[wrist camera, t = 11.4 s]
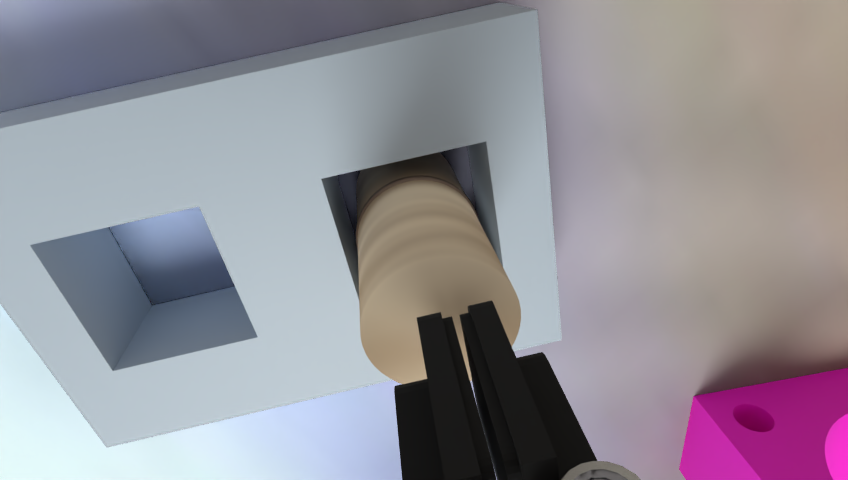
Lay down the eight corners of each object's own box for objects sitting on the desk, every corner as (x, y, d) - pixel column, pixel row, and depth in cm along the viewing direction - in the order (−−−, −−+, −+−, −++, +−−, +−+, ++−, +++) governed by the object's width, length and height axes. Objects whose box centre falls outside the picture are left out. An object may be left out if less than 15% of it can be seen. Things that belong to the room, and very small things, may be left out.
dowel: (343, 153, 19) (338, 278, 11) (447, 129, 19) (514, 237, 11) (368, 244, 21) (379, 405, 13) (463, 222, 21) (529, 369, 13)
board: (144, 374, 23) (106, 447, 19) (-17, 116, 17) (-112, 153, 14) (530, 284, 23) (561, 340, 20) (499, 2, 17) (537, 9, 14)
